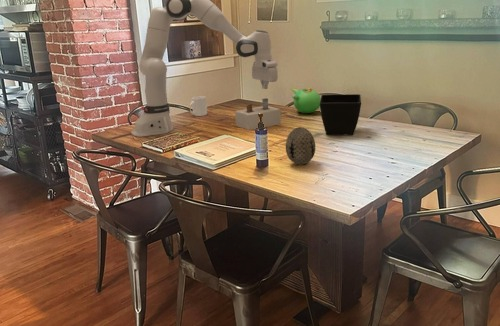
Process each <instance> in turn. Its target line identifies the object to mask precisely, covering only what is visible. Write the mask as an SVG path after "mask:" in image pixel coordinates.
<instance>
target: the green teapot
mask: <svg viewBox="0 0 500 326" xmlns="http://www.w3.org/2000/svg"><path fill="white" fill-rule="evenodd" d="M291 91H292V92H293V93H294V95H292V99H293V105H294V108H295V110H297V112H300V113H302V114H311V113H314V112H317V110H319V109H320V100H321V95H320V94H319V93H318V92H317V91H316V90H315V89H313V87H308V88H303V89H300V90H299V89H296V88H294V87H292V88H291Z"/></svg>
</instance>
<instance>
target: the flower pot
mask: <svg viewBox="0 0 500 326" xmlns="http://www.w3.org/2000/svg"><path fill="white" fill-rule="evenodd" d="M361 95H362V94H360V93H359V94H358V93H357V94H355V93H354V94H350V93H349V94H321V95H320V98H321V100H320V107H319V109H320V117H321V120H322V123H323V128H324V132H325V134H326V135H327V136H353V135H355V131H356V128H357V126H358V122H359V117H360V113H361V108H362V107H361V106H362V99H361Z"/></svg>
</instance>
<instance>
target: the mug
mask: <svg viewBox="0 0 500 326" xmlns="http://www.w3.org/2000/svg"><path fill="white" fill-rule="evenodd" d="M191 107H192V110H191ZM189 111H190V113H191V114H192V115H193V116H194V117H204V116H207V114H208V106H207V97H206V96H204V95H203V96H202V95H199V96H198V95H196V96H193V97H191V102H190V104H189Z"/></svg>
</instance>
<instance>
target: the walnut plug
mask: <svg viewBox="0 0 500 326" xmlns="http://www.w3.org/2000/svg"><path fill="white" fill-rule="evenodd" d="M252 108H253V104H246V109H247V113H250V112H252Z"/></svg>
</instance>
